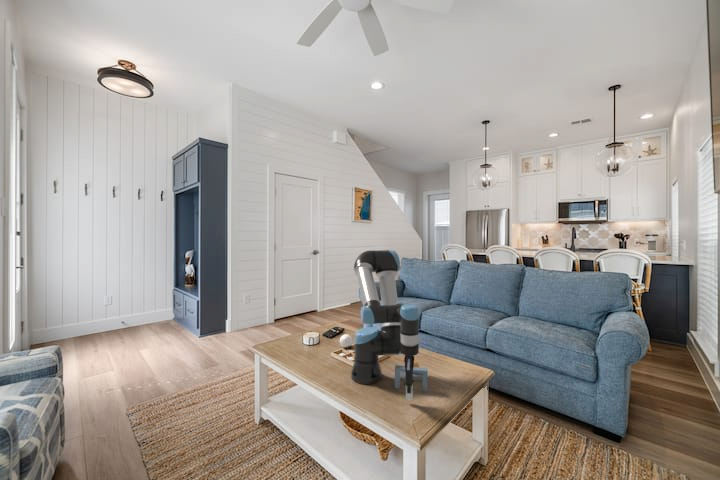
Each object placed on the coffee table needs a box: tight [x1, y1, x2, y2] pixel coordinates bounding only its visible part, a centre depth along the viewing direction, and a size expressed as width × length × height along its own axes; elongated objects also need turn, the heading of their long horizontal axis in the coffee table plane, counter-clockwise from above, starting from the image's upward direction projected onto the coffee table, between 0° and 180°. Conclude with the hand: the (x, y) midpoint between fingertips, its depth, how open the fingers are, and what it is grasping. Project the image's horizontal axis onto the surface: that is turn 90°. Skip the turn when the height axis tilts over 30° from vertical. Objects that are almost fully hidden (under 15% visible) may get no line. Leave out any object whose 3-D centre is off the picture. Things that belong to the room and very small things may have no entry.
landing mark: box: [400, 371, 423, 382], centre depth 155 cm, size 13×13×1 cm
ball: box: [413, 360, 420, 367], centre depth 157 cm, size 6×6×6 cm
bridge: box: [394, 364, 429, 392], centre depth 141 cm, size 3×14×9 cm, turn 77°
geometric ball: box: [339, 333, 353, 348], centre depth 190 cm, size 8×8×8 cm
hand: (409, 399), depth 128 cm, fingers closed
